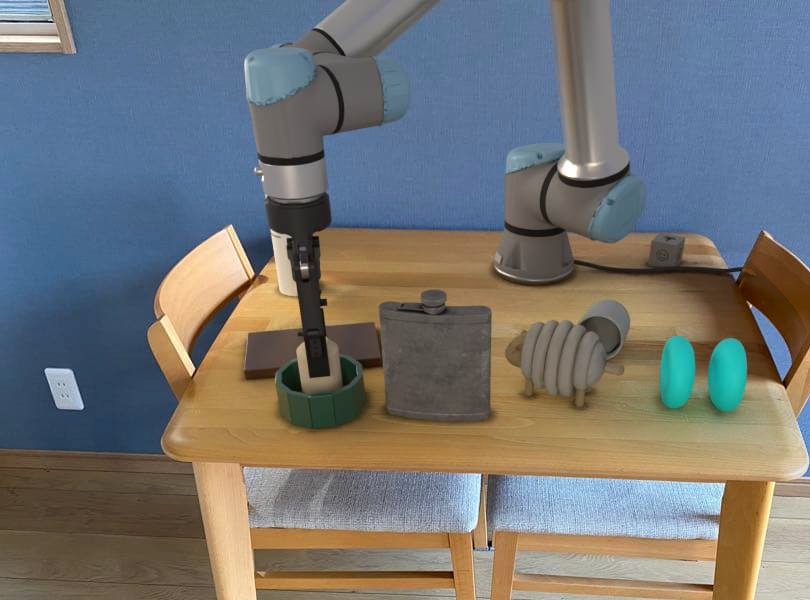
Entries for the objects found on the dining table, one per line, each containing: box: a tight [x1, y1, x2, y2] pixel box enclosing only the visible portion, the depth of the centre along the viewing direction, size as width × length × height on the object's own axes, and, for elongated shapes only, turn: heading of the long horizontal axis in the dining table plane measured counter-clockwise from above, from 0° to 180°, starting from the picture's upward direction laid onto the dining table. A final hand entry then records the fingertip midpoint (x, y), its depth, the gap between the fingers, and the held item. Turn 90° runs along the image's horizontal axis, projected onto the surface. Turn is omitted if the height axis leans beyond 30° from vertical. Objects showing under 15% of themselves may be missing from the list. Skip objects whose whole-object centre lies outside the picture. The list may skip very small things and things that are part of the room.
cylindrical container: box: [262, 175, 315, 297], centre depth 130 cm, size 7×7×25 cm
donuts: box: [659, 335, 748, 413], centre depth 103 cm, size 10×10×10 cm
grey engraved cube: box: [647, 232, 686, 268], centre depth 146 cm, size 5×5×5 cm
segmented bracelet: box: [274, 354, 367, 430], centre depth 104 cm, size 12×12×5 cm
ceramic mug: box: [573, 299, 631, 361], centre depth 117 cm, size 11×8×8 cm
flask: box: [378, 288, 493, 422], centre depth 98 cm, size 4×14×18 cm, turn 84°
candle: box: [296, 337, 343, 394], centre depth 102 cm, size 6×6×10 cm
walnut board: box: [243, 321, 383, 380], centre depth 117 cm, size 20×12×2 cm, turn 101°
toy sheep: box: [504, 319, 625, 408], centre depth 104 cm, size 11×17×11 cm, turn 72°
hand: (319, 363), depth 102 cm, fingers closed on candle, 5 cm apart
